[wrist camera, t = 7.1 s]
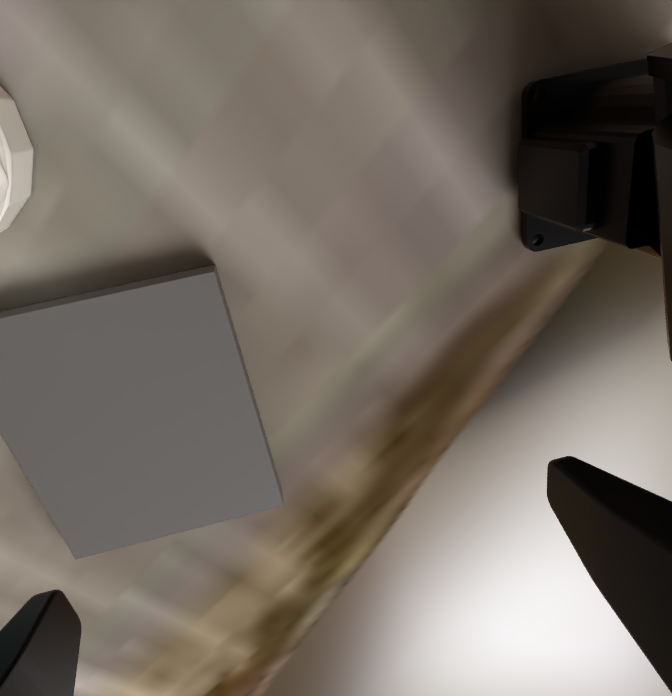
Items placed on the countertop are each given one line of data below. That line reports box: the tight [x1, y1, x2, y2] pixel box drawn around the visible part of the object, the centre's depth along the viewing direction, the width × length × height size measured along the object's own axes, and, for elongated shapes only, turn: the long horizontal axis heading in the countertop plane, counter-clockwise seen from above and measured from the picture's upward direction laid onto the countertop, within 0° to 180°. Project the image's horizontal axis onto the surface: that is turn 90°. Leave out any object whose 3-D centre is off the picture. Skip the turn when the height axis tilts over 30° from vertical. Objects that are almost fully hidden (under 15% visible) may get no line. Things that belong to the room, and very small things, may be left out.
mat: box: [0, 265, 284, 559], centre depth 21 cm, size 10×12×1 cm
